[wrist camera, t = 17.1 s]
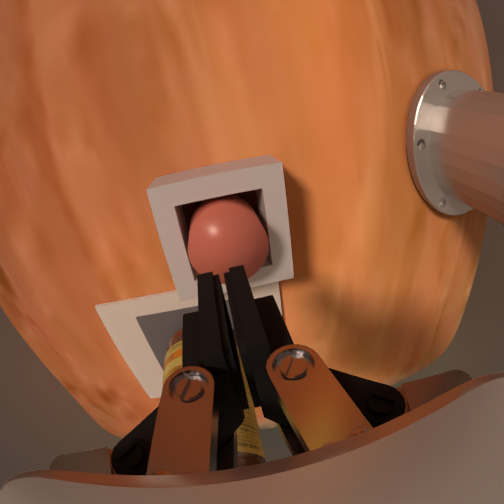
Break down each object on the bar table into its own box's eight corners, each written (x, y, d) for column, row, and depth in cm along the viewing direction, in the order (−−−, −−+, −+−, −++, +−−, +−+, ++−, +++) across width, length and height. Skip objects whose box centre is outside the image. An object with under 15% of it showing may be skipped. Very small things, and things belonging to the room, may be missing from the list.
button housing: (269, 154, 17) (282, 162, 14) (281, 255, 20) (293, 277, 17) (155, 177, 16) (146, 189, 14) (182, 276, 19) (180, 301, 17)
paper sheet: (276, 269, 20) (277, 271, 20) (287, 372, 26) (288, 375, 26) (95, 304, 19) (94, 307, 19) (150, 396, 25) (150, 398, 25)
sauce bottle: (166, 314, 20) (169, 609, 3) (248, 321, 22) (322, 592, 4) (165, 370, 23) (173, 593, 5) (234, 374, 24) (279, 586, 7)
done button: (252, 188, 16) (263, 203, 13) (261, 250, 18) (273, 275, 15) (182, 202, 16) (178, 220, 13) (198, 263, 18) (198, 290, 15)
